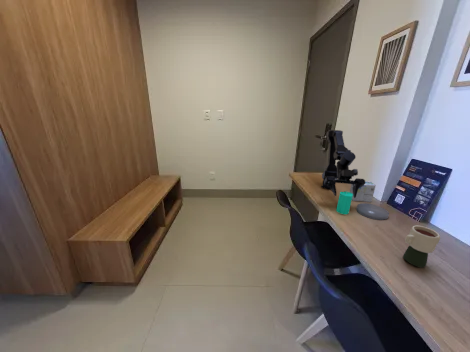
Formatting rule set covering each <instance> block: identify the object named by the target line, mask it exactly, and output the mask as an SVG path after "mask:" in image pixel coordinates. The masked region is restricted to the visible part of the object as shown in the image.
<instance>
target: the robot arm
mask: <svg viewBox="0 0 470 352" xmlns="http://www.w3.org/2000/svg"><path fill="white" fill-rule="evenodd" d="M343 133H344V131H343V130H340V129H339V130H338V129H337V130H336V129H329V130H327V131H326V135H325V137H326V142H327V143H328V159H327V165H326V167H325V168H324V171H323V172H322V174H321V179H322V185H321V186H320V187H321V188H322V189H325V190H328V191H329V190H331V191H332V193H333V195H334V197H336V196H337V187H336V184H346V185H347V184H349V185H351V184H353V186H354V187H353V196H354V198H355V197H356V195H357V191H358V189H359V188H360V187H362V186H363V185H364V184H365V181H366V180H365V179H364V178H358V177H357V178H355V179H354V180H353V177H356V176H358V174H359V171H358V169H357V168H353V169H350V167H349V166H351V165H352V163H353V162H354V161H355V159H356V154H355V153H354V152H352V150H351V149H349V148H347V147H346V145H345V142H344V141H345V140H344V137H343ZM336 161H337V162H336Z"/></svg>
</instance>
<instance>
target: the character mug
mask: <svg viewBox="0 0 470 352" xmlns="http://www.w3.org/2000/svg"><path fill="white" fill-rule="evenodd" d="M440 240H441V235H440V234H439V232H437V231H435V230H434V229H432V228H429V227H426V226H424V225H413V226H412V227H411V228H410V230H409V233H408V234H407V235H406V236H405V239H404V242H405V244H407V245H408V247H407V248H406V250H405V252H404V253H403V255H402V258H403V259H404V260H405V261H406V262H407V263H409V264H411V265H413V266H415V267H418V268H425V267H426V266H427V262H428V257H429V254H431V253H433V252H434V251H435V249H436V247H437V245H438V244H439V242H440Z"/></svg>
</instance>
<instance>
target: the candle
mask: <svg viewBox="0 0 470 352" xmlns="http://www.w3.org/2000/svg"><path fill="white" fill-rule="evenodd" d="M338 196H339V197H338V200H337V206H336V210H335V211H336V212H337V213H338V214H340V215H349V212H350V209H351V205H352V201H353V200H352V197H353V194H352V193H350V191H348V190H346V191H339V195H338Z"/></svg>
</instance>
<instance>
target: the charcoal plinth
mask: <svg viewBox="0 0 470 352" xmlns="http://www.w3.org/2000/svg"><path fill="white" fill-rule="evenodd" d="M356 212H357V213H358V214H360V215H362V216H363V217H366V218H369V219H372V220H377V221H385V220H387V219H388V218H389V215H390V212H389V211H388V210H387V209H386V208H384V207H382V206H379V205H376V204H373V203H368V202H367V203H366V202H365V203H363V202H362V203H359V204H357V205H356Z"/></svg>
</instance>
